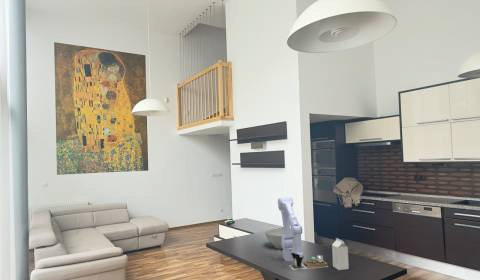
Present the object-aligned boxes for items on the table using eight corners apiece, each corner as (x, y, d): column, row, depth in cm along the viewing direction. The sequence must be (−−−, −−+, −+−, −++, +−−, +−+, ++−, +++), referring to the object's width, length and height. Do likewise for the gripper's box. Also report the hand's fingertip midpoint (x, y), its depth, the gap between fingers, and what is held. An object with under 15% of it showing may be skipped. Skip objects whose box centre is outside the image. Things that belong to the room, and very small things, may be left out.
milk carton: (338, 271, 194) (337, 241, 195) (333, 268, 201) (331, 238, 202) (348, 270, 196) (347, 240, 197) (342, 267, 203) (341, 237, 204)
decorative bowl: (258, 247, 253) (258, 232, 254) (277, 240, 273) (277, 227, 274) (286, 253, 235) (285, 237, 236) (304, 245, 255) (303, 230, 256)
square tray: (288, 267, 205) (288, 264, 205) (301, 265, 207) (301, 263, 207) (293, 271, 196) (293, 269, 196) (307, 270, 198) (306, 268, 198)
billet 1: (293, 267, 203) (293, 257, 204) (299, 266, 204) (299, 256, 204) (296, 269, 199) (295, 259, 200) (301, 268, 200) (301, 258, 200)
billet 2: (315, 264, 205) (315, 254, 206) (321, 264, 206) (321, 254, 206) (318, 266, 201) (318, 256, 202) (324, 266, 202) (323, 256, 202)
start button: (311, 261, 211) (310, 256, 212) (314, 261, 212) (314, 256, 212) (312, 262, 209) (312, 258, 209) (316, 262, 209) (315, 257, 210)
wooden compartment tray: (303, 266, 205) (302, 261, 205) (323, 264, 208) (322, 259, 208) (307, 270, 198) (307, 265, 198) (328, 268, 200) (328, 263, 201)
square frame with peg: (307, 262, 213) (307, 258, 213) (315, 261, 214) (315, 257, 214) (311, 265, 207) (311, 261, 207) (320, 264, 208) (319, 260, 208)
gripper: (287, 241, 209) (288, 262, 208) (295, 247, 195) (296, 269, 194) (297, 241, 210) (297, 261, 209) (305, 246, 196) (306, 268, 195)
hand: (297, 265), depth 202 cm, fingers closed on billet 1, 4 cm apart
